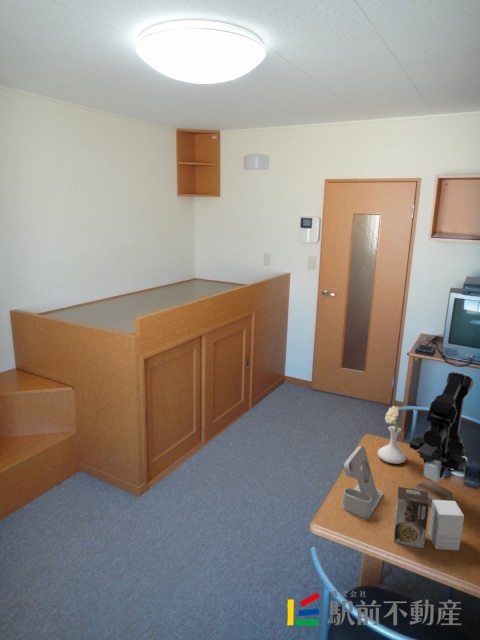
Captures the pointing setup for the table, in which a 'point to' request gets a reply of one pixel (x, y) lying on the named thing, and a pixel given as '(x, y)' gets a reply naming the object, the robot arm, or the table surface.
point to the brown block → (434, 491)
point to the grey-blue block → (433, 470)
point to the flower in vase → (392, 440)
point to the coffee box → (411, 517)
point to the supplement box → (445, 525)
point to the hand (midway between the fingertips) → (434, 473)
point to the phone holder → (360, 486)
